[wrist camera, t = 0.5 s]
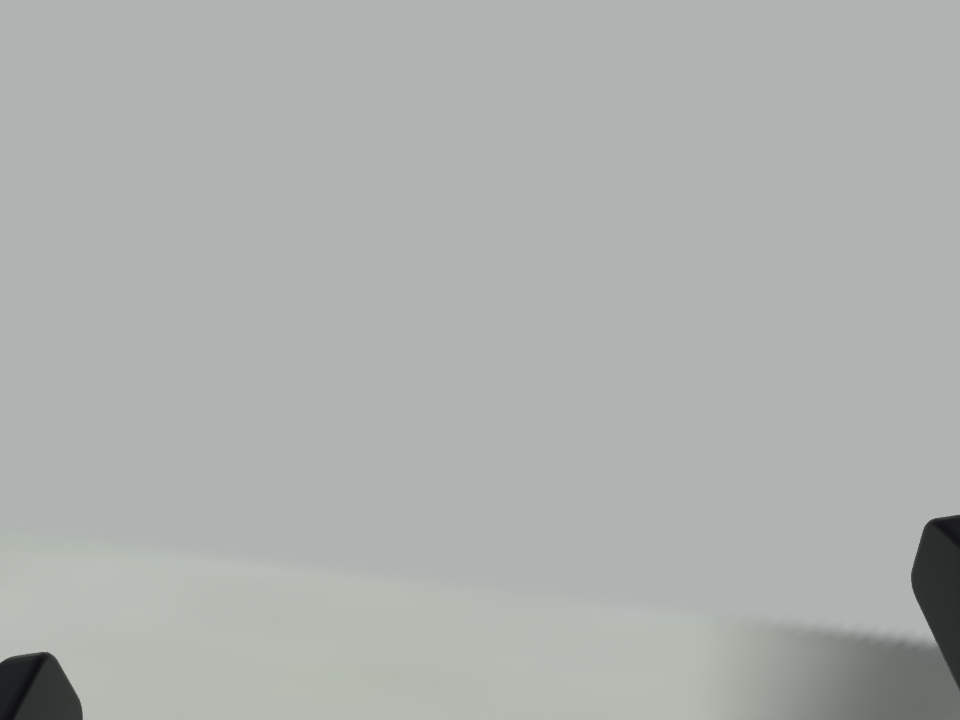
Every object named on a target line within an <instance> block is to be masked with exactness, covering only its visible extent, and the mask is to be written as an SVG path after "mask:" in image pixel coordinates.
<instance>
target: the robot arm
mask: <svg viewBox="0 0 960 720" xmlns="http://www.w3.org/2000/svg"><path fill="white" fill-rule="evenodd" d="M911 582H912V588H913V591H914V594H915V597H916V599H917V601H918V603H919V606H920V607H921V610H922V612H923V614H924V616H925V618H926V621H927V623H928V625H929V627H930V629H931V631H932V633H933V635H934V638H935V640H936V642H937V644H938V646H939V648H940V650H941V652H942V655H943V657H944V659H945V661H946V663H947V665H948V667H949V670H950V672H951V674H952V676H953V678H954V680H955V682H956V684H957V687H958V689H959V691H960V515H955V516H949V517H942V518H935V519H932V520H930V521H929V522H928V523H927V524H926V525H925V527H924V530H923V533H922V536H921V540H920V544H919V547H918V551H917V554H916V557H915V561H914V564H913V568H912V573H911ZM0 720H83V713H82V706H81V703H80V700H79V698H78V696H77V694H76V692H75V691H74V689H73V687H72V685H71V683H70V682H69V680H68V678H67V676H66V675H65V673H64V671H63V669H62V668H61V666H60V664H59V662H58V660H57V659H56V658H55V656H53V655H52V654H50V653H48V652H39V653H32V654H26V655H19V656H13V657H10V658H7V659H5V660H4V661H2V662H1V663H0Z"/></svg>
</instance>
